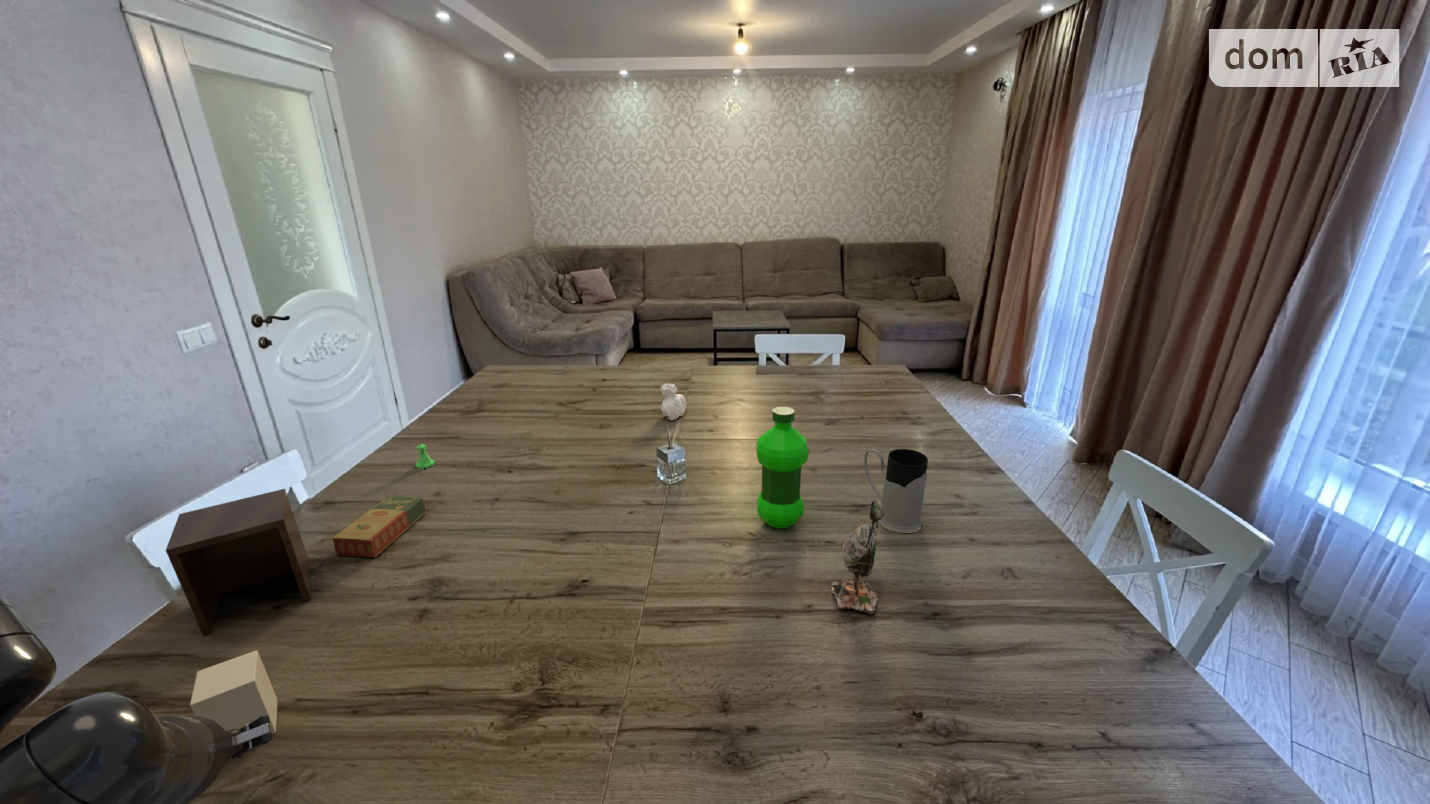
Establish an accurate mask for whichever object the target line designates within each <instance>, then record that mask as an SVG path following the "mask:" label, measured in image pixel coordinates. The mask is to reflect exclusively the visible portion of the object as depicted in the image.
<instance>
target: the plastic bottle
mask: <svg viewBox="0 0 1430 804" xmlns="http://www.w3.org/2000/svg"><path fill="white" fill-rule="evenodd" d="M795 413H796V412H795V409H793V408H792V407H789V406H777V407H773V408H772V414H771V415H772V416H771V417H772V421H773V422H774V426H772V427H771V428H769V429H768V430H766V431H765V432H764V433H762V434H761V435H759V436H758V438H757V440H756V443H755V444H756V446H755V451H756V457H757V462H758V463H759V464H760V465H761V491H760V493H759V495H758V496H757V499H756V509H757V514H758V516H759V518H760V519H761V520H763V521H764V522H765V523H766V524H767V525H769V526H770V525H771V526H773V527H775V529H779V528H783V529H788V528H789V527H791V526H793V525H794V524H795V523H796V522H797V521H799V520H800V519H801V518H802V516H803V514H804V512H805V507H804V503H803V499H802V496H801V482H802V481H801V480H802V479H801V478H802V467H803V466H804V465H806V463H807V462H808V460H809V459H808V458H809V455H810V454H809V453H810V449H809V446H808V443H807V440H806V437H805V436H804V435H803V434H802V433H801V432H799V431H798V430H797V429H796V428H794V427H793V426H792V423H793V422H795ZM771 526H770V527H771ZM773 527H772V528H773ZM787 527H788V528H787Z"/></svg>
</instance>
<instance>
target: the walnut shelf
mask: <svg viewBox="0 0 1430 804" xmlns="http://www.w3.org/2000/svg"><path fill="white" fill-rule="evenodd" d="M295 517H296V516H295V514H294V511H293V508H292V505H291V502H290V500H289V497H288V493H287V490H286V488H282V489H277V490H274V491H269V492H264V493H261V494H257V495H251V496H248V497H245V498H240V499H235V500H231V501H227V502H224V503H223V502H222V503H219V504H216V505H211V506H207V507H203V508H199V509H193V510H191V511H187V512H182V513H179V514H178V517H177V519H176V522H175V525H174V526H173V529H172V531H171V534H170V537H169V541H168V543H167V545H166V548H165V553H166V555H167V558H168V559H169V562H170V564H171V566H172V568H173V571H174V573H175V575H176V578H177V579H178V582H179V584H180V587H181V589H182V591H183V593H184V595H185V598H186V600H187V602H188V605H189V608H190V609H191V612H192V614H193V616H194V618H195V621H196V623H197V625H198V628H199V630H200V632H201V634H202V636H203V637H205V636H208V635H210V634H212V633H213V627H214V623H215V618H216V613H217V608H218V602H219V598H220V595H222V594H223V595H224V594H226V593H229V592H232V591H236V590H239V589H242V588H245V587H248V586H252V585H255V584H259V583H262V582H265V581H268V580H271V579H274V578H275V579H276V578H278V577H282V576H284V575H287V574H291V573H293V575H294V578H295V581H296V583H297V584H296V585H297V587H298V590H299V593H300V596H301V599H302V601H303V603H306V602H310V601H311V600H312V592H311V591H312V590H311V589H312V588H311V563H310V560H309V556H308V554H307V551H306V547H305V545H304V541H303V538H302V535H301V533H300V529H299V527H298V524H297V520H296V518H295Z"/></svg>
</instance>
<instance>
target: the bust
mask: <svg viewBox="0 0 1430 804" xmlns="http://www.w3.org/2000/svg"><path fill="white" fill-rule="evenodd" d="M660 392H661V393H662V396H665V397H664V399H663V400H662V403H661V408H660V409H661V412H662V413H661V414H662V415H663V416H664V417H665V416H668V417H667V419H668V420H669V421H674V420H678V419H677V418H678V416H681V417H683V416H684V415H685V412H686V410H687V400H686V398H685V396H684V395H683V394H679V393H677V392H678V387H677V386H676V385H675V383H671V382H670V383H663V384H662V385H661V386H660ZM683 414H684V415H683Z"/></svg>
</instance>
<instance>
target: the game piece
mask: <svg viewBox="0 0 1430 804" xmlns="http://www.w3.org/2000/svg"><path fill="white" fill-rule="evenodd" d="M416 451H417V452H419V457H418V459H417V460H418V461H417V462H416V464H415V468H416V467H417V468H416V469H419V470H425V469H424V468H427V469H430V468H432V467H434V466H435V464H434V463H436V462H435V460H434V459H432V458H431V457H430V455H429V454H428V453H427V452H426V451H427V445H426V444H423V443H420V444H418V445H417V446H416ZM433 465H434V466H433ZM431 466H432V467H431ZM429 467H430V468H429Z"/></svg>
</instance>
